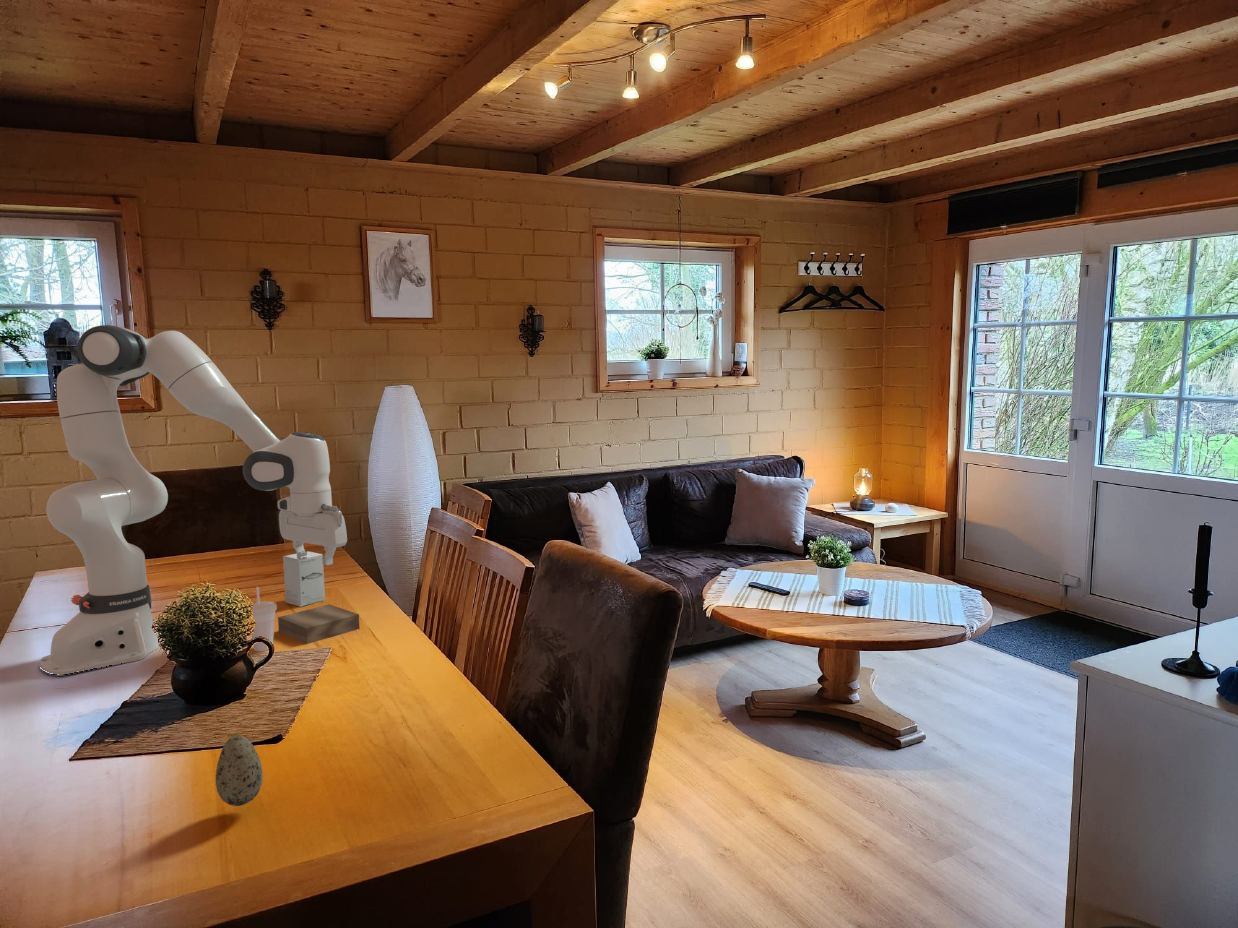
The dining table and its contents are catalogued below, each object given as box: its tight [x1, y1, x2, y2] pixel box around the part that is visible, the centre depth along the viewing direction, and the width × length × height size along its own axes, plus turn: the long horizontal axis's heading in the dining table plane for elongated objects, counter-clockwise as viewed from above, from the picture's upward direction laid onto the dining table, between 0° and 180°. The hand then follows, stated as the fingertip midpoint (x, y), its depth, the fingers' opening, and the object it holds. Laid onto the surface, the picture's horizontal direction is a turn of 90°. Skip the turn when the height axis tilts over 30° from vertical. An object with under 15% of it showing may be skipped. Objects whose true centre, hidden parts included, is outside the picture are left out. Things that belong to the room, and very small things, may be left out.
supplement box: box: [282, 551, 326, 608], centre depth 210 cm, size 7×7×13 cm
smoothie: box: [251, 586, 278, 653], centre depth 175 cm, size 6×6×14 cm
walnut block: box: [277, 604, 361, 645], centre depth 187 cm, size 13×13×4 cm
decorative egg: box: [215, 734, 264, 807], centre depth 112 cm, size 6×6×10 cm
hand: (314, 561), depth 185 cm, fingers open, 8 cm apart
